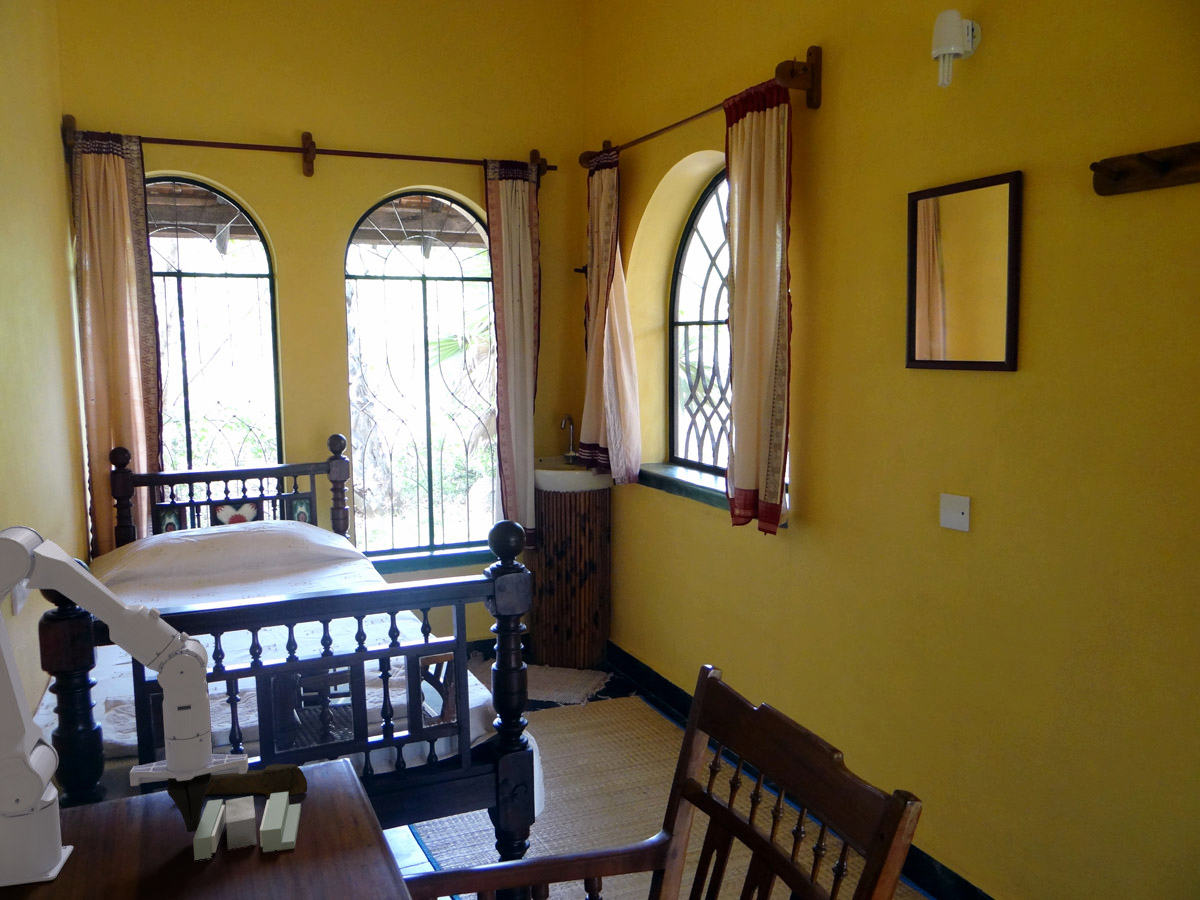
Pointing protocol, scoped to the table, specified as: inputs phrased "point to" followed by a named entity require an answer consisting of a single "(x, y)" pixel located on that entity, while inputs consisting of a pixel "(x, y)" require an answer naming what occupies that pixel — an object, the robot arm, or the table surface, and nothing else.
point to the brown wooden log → (260, 781)
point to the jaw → (209, 829)
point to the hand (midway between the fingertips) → (193, 828)
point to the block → (240, 822)
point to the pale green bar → (279, 823)
